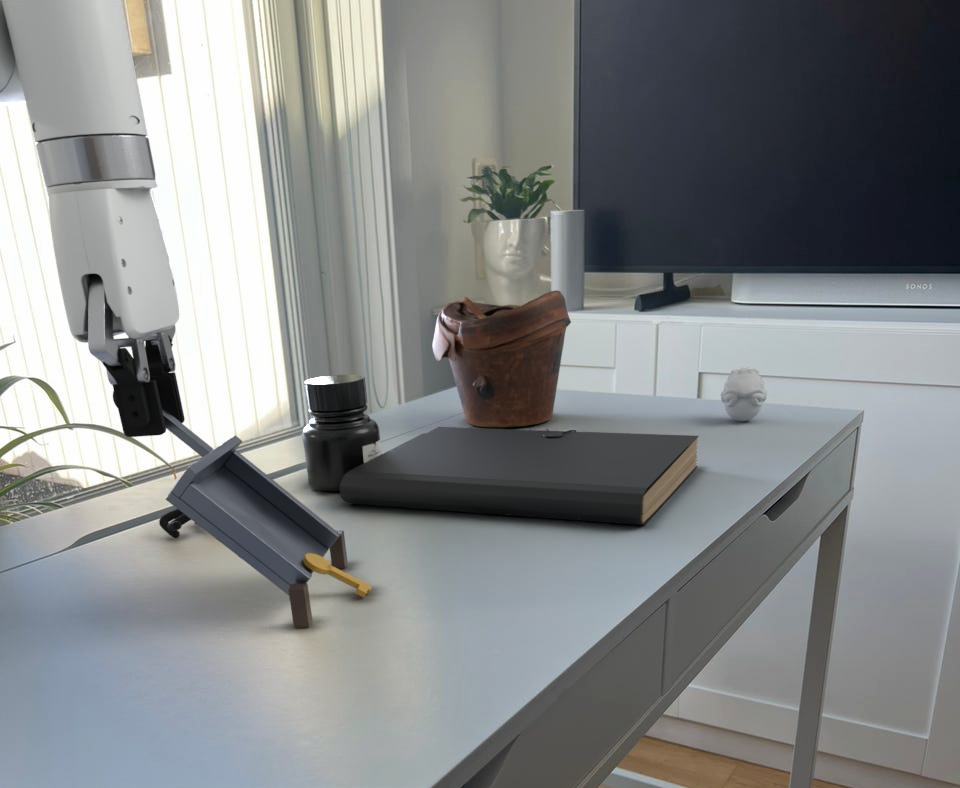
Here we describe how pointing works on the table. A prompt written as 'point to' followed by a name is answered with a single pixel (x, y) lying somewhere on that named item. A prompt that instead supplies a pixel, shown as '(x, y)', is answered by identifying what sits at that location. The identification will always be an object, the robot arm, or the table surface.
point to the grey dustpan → (248, 510)
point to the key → (335, 573)
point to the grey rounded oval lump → (743, 394)
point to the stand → (300, 591)
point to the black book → (528, 473)
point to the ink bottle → (337, 429)
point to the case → (504, 358)
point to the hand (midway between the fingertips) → (155, 427)
